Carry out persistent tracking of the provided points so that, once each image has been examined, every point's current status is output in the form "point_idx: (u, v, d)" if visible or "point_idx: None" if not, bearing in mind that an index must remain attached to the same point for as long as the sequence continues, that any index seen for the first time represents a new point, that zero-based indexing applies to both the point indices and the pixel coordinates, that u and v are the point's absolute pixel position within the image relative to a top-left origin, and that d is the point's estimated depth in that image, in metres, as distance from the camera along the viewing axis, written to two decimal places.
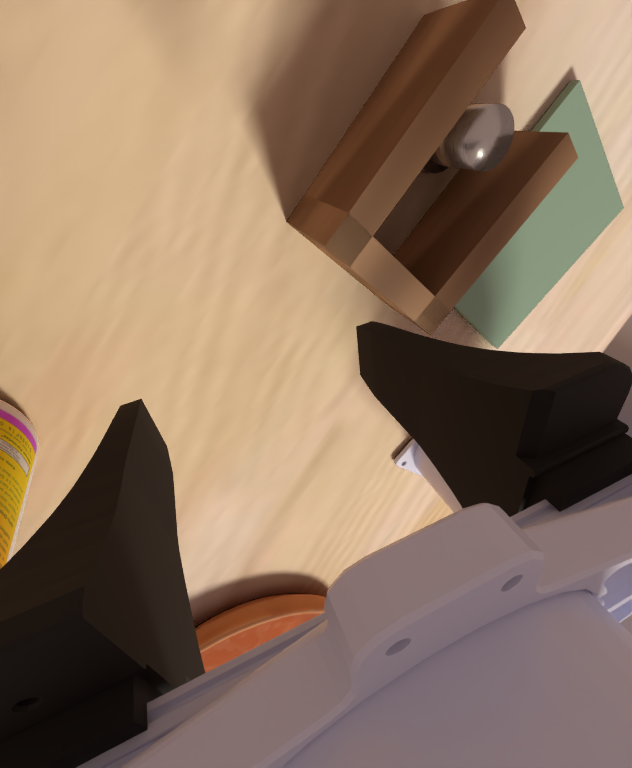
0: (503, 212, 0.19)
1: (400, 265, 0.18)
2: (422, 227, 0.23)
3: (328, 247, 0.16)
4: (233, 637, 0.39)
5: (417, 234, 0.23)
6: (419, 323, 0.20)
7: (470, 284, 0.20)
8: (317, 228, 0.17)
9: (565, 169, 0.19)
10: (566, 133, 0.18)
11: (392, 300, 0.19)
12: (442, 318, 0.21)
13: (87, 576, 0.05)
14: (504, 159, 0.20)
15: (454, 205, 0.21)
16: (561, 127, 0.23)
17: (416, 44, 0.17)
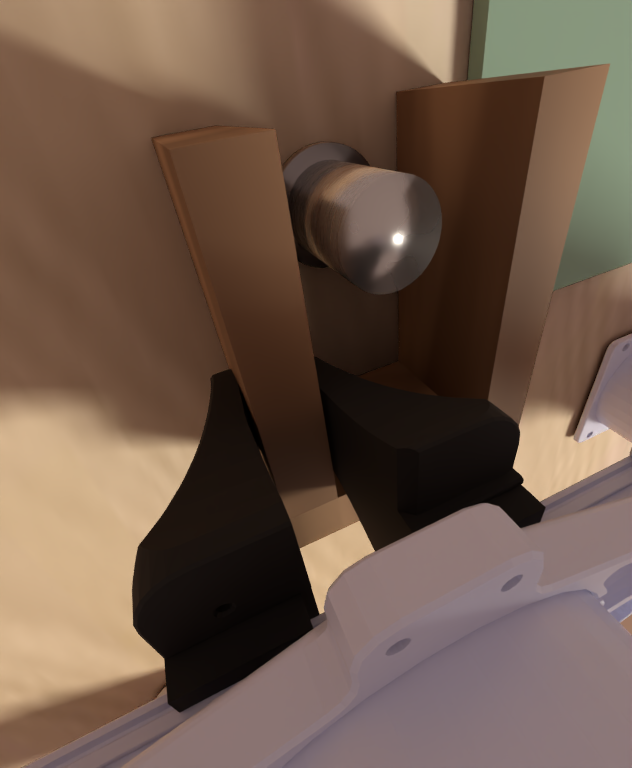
0: (507, 293, 0.10)
1: None
2: (405, 300, 0.14)
3: (301, 546, 0.12)
4: None
5: (406, 312, 0.14)
6: None
7: (527, 378, 0.12)
8: None
9: (591, 114, 0.08)
10: (541, 79, 0.07)
11: None
12: None
13: (275, 496, 0.06)
14: (452, 164, 0.10)
15: None
16: None
17: (178, 213, 0.09)
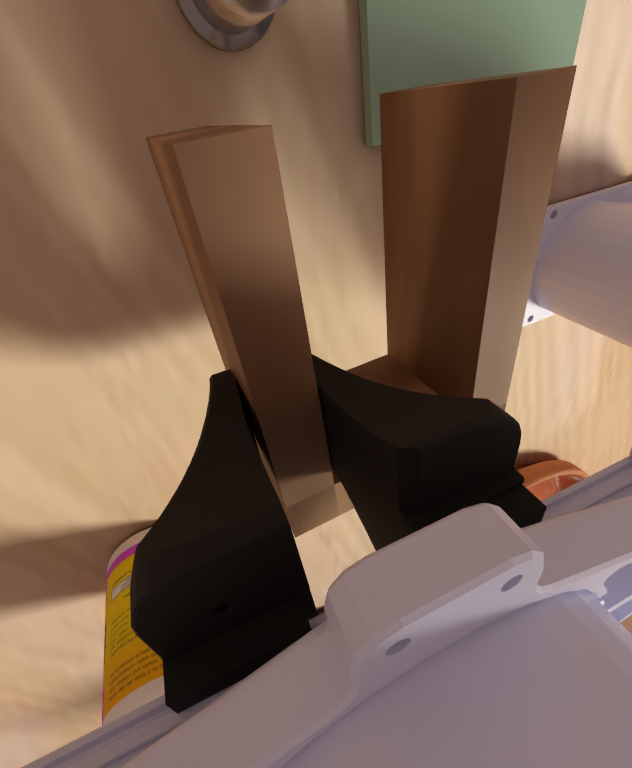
0: (489, 281, 0.10)
1: None
2: (393, 294, 0.15)
3: (299, 533, 0.12)
4: None
5: (394, 306, 0.15)
6: None
7: (511, 364, 0.12)
8: None
9: (561, 112, 0.08)
10: (515, 80, 0.08)
11: None
12: None
13: (273, 497, 0.06)
14: (434, 161, 0.10)
15: (411, 258, 0.13)
16: None
17: (174, 210, 0.10)
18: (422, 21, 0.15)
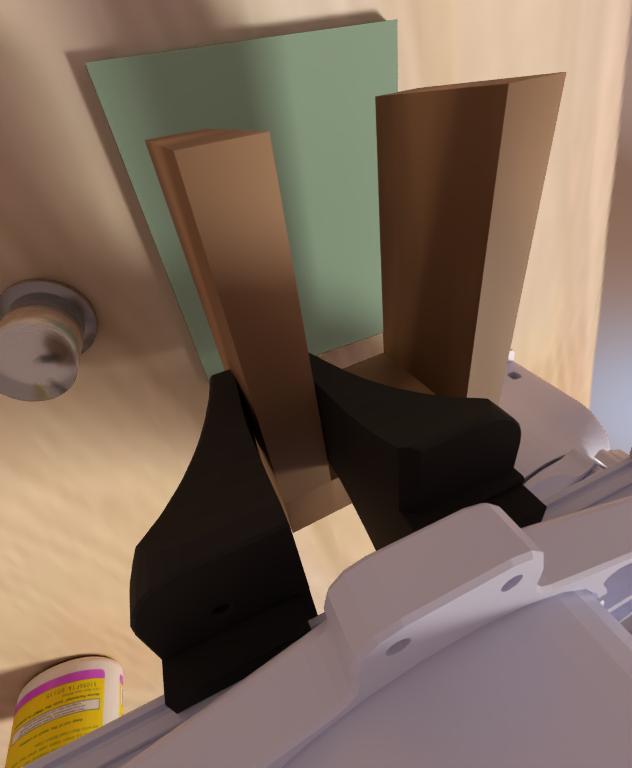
0: (482, 281, 0.10)
1: None
2: (388, 293, 0.15)
3: (297, 529, 0.13)
4: None
5: (390, 305, 0.15)
6: None
7: (504, 363, 0.13)
8: None
9: (551, 117, 0.09)
10: (506, 86, 0.08)
11: None
12: None
13: (273, 497, 0.06)
14: (428, 163, 0.11)
15: (407, 258, 0.13)
16: (148, 127, 0.13)
17: (173, 212, 0.10)
18: None
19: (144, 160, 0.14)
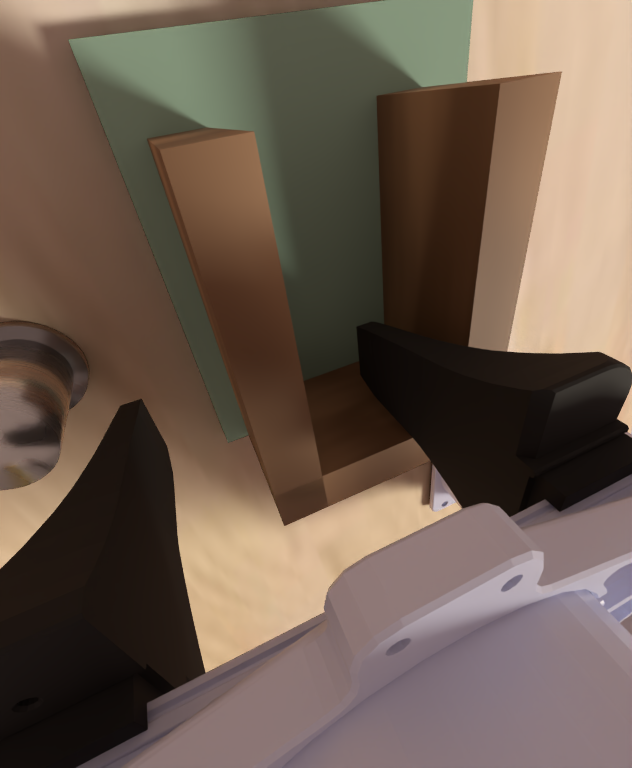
0: (476, 282, 0.10)
1: (382, 452, 0.13)
2: (389, 292, 0.15)
3: (288, 522, 0.13)
4: None
5: (390, 304, 0.15)
6: None
7: None
8: (268, 483, 0.14)
9: (547, 117, 0.09)
10: (498, 86, 0.08)
11: (407, 469, 0.14)
12: None
13: (88, 576, 0.05)
14: (426, 163, 0.11)
15: (406, 258, 0.13)
16: (153, 128, 0.10)
17: (172, 208, 0.10)
18: None
19: (148, 172, 0.10)
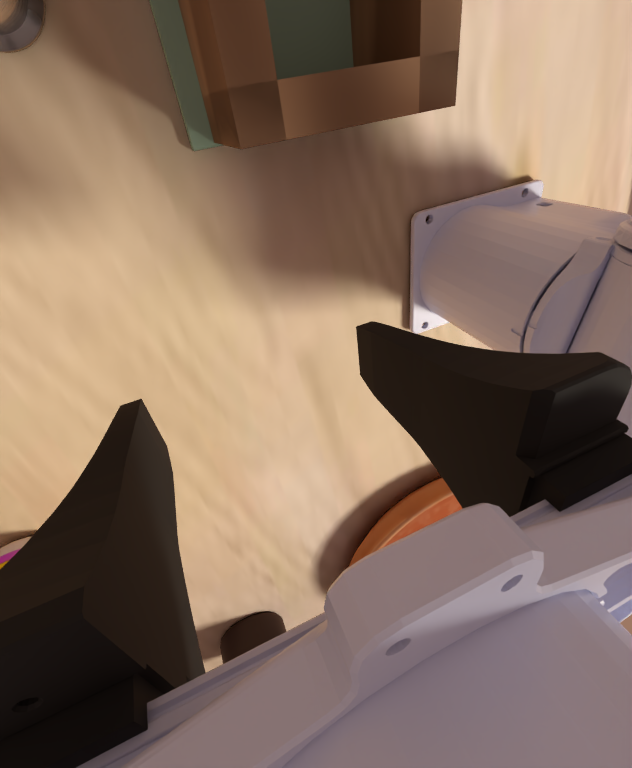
0: None
1: (339, 72, 0.13)
2: None
3: (245, 146, 0.13)
4: (401, 536, 0.41)
5: None
6: (427, 108, 0.14)
7: None
8: (227, 131, 0.13)
9: None
10: None
11: (368, 120, 0.14)
12: (454, 70, 0.14)
13: (87, 576, 0.05)
14: None
15: None
16: None
17: None
18: None
19: None
